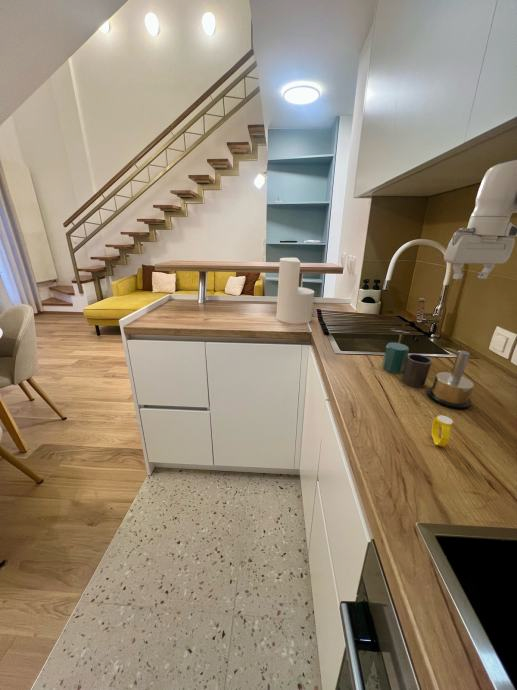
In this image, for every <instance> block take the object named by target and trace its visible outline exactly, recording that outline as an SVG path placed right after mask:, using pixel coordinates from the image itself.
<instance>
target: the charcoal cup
mask: <svg viewBox="0 0 517 690" xmlns="http://www.w3.org/2000/svg"><path fill="white" fill-rule="evenodd" d="M432 363H433V360H432V359H431V358H430V357H427V356H425V355H423V354H417V353H412V354H410V353H408V356H407V359H406V363H405V367H404V370H403V372H402V375H401V378H400V379H401V380H400V381H401V382H402V383H403V384H404V385H406V386H407V387H410V388H414V389H422V388H424V387H425V385H426V383H427V379H428V376H429V373H430V371H431V366H432Z"/></svg>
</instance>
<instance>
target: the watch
mask: <svg viewBox="0 0 517 690" xmlns="http://www.w3.org/2000/svg"><path fill="white" fill-rule="evenodd" d="M453 424H454V421H453V420H452V418H450V417H448V416H447V415H443V414H439V415H437V416H436V417H435V418H434V419H433V421H432V426H431V437H432V439H433V442H434V443H433V444H434V445H435V446H440V447H446V446H447V445H448V443H449V440H450V437H451V427H452V426H453ZM440 427H441V435H440Z"/></svg>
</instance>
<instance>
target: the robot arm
mask: <svg viewBox="0 0 517 690" xmlns="http://www.w3.org/2000/svg"><path fill="white" fill-rule="evenodd" d="M513 214H516V215H517V158H512V159H507V160H503V161H501V162H498V163H496V164H494V165H493V166H491V167H489V169H487V171H486V172H485V174H484V176H483V178H482V180H481V183H480V185H479V188H478V191H477V193H476V197H475V206H474V209H473V212H472V213H471V214H470V217H469V220H468V224H467V227H466V228H465V227H460V228H459V229H457V230H456V231H455V232H453V234H452V238H451V240H449V243H448V245H447V248H446V250H445V253H444V256H443V260H444V262H445V263H448V264H452V271H453V275H452V279H453V280H462V279H463V277H464V274H465V273H464V272H463V273H462V268H464V265H465V264H484V265H483V268H482V270H481V271H479V272H478V275H477V279H479V280H486V279H488V276H489V274H490V273H491V272H492V270H493V269H494V268H495V267H496V264H506V262H507V261H508V260H509V259H510V257H511V255H512V252H513V249H514V245H515V243H516V237H517V226H516V225H514V224H513V223H512V222H511V221H510V220H511V217H512V215H513Z"/></svg>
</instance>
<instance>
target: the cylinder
mask: <svg viewBox="0 0 517 690" xmlns="http://www.w3.org/2000/svg"><path fill="white" fill-rule="evenodd" d="M300 272H301V261H300V259H299V258H298V257H280V258H279V267H278V284H277V298H276V299H277V300H276V315H275V316H276V320H278V321H280V322H283V323H285V324H292V325H293V324H298V325H301V324H307V323H310V322H311V321H312V318H313V317H312V316H313V307H314V298H315V291H314V290H313V289H311V288H308V287H303V286H299V285H300V284H299V283H300V274H301V273H300Z"/></svg>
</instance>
